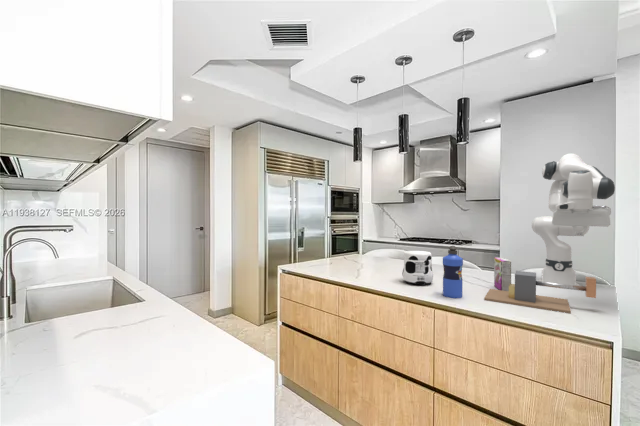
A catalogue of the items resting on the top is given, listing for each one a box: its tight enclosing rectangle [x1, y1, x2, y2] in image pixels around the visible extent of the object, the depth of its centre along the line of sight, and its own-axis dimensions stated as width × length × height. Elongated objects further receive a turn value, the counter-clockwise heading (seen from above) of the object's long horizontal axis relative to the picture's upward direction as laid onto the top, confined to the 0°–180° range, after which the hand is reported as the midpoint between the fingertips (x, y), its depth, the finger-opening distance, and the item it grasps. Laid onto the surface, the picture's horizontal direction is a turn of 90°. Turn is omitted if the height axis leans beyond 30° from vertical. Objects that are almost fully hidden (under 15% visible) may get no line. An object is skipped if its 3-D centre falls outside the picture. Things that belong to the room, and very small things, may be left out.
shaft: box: [536, 276, 597, 299], centre depth 136 cm, size 4×24×8 cm, turn 54°
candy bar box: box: [493, 256, 512, 291], centre depth 164 cm, size 11×5×16 cm, turn 168°
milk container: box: [401, 250, 434, 285], centre depth 179 cm, size 17×17×18 cm
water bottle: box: [442, 245, 464, 299], centre depth 152 cm, size 9×9×25 cm
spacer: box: [509, 283, 515, 299], centre depth 147 cm, size 6×2×6 cm, turn 144°
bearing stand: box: [483, 270, 572, 314], centre depth 144 cm, size 20×32×13 cm, turn 54°
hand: (579, 235), depth 139 cm, fingers closed
